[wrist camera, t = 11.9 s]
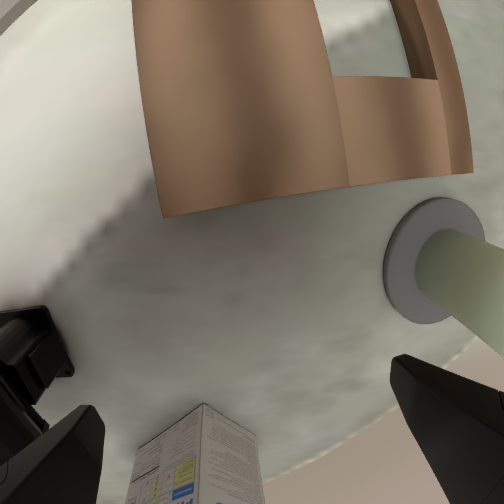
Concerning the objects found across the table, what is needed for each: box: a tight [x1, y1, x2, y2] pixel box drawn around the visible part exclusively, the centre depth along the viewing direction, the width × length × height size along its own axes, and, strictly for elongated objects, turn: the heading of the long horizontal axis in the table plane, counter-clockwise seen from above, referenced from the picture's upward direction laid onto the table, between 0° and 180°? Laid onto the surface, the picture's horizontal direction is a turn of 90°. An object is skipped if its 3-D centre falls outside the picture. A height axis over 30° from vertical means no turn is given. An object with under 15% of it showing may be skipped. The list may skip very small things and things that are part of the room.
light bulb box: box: [125, 404, 265, 504], centre depth 20 cm, size 11×7×11 cm, turn 135°
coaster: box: [383, 197, 485, 324], centre depth 21 cm, size 10×10×1 cm
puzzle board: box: [132, 0, 474, 218], centre depth 16 cm, size 20×16×3 cm
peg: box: [415, 228, 504, 358], centre depth 15 cm, size 6×6×13 cm
